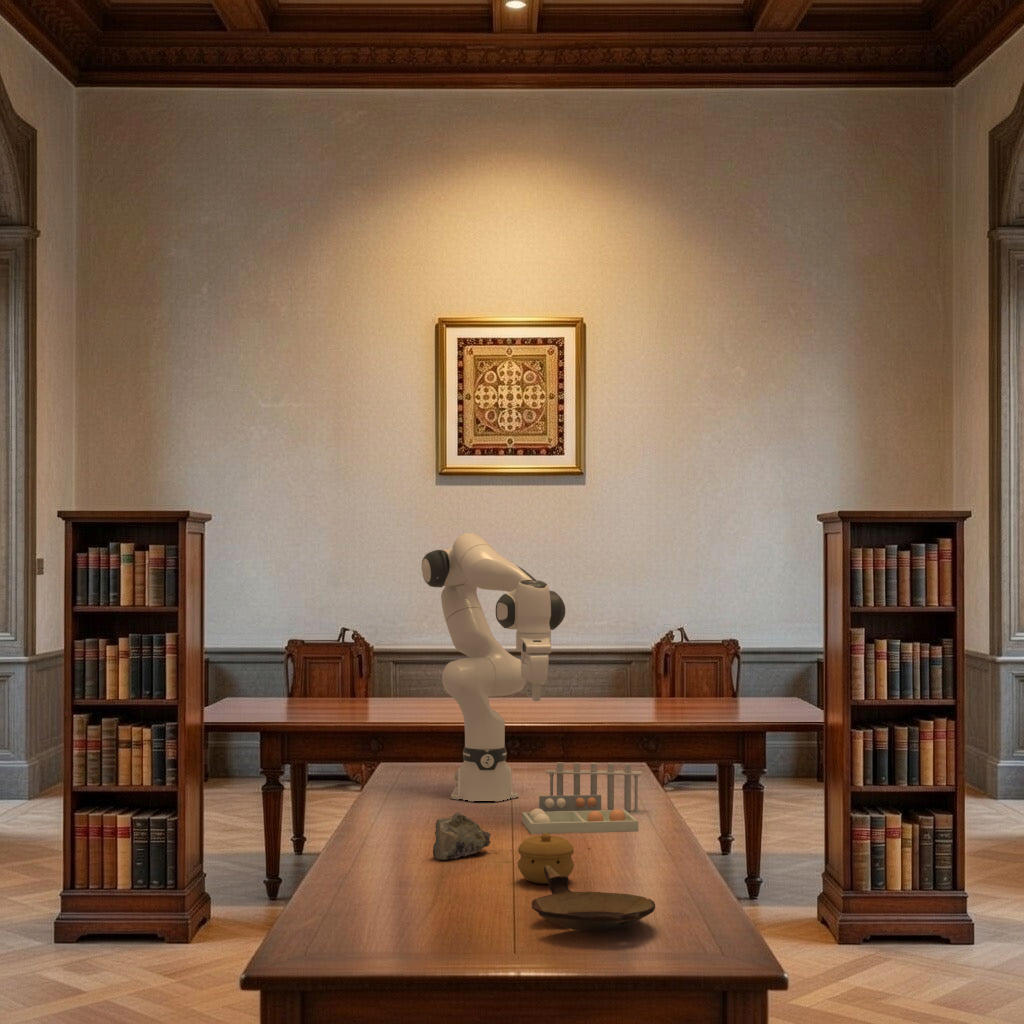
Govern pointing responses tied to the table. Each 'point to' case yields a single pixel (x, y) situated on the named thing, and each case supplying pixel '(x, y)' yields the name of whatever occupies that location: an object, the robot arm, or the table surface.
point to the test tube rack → (594, 772)
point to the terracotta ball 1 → (594, 816)
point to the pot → (545, 857)
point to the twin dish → (579, 823)
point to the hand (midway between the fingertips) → (533, 698)
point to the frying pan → (589, 906)
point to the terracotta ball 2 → (617, 815)
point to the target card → (570, 803)
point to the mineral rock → (458, 837)
